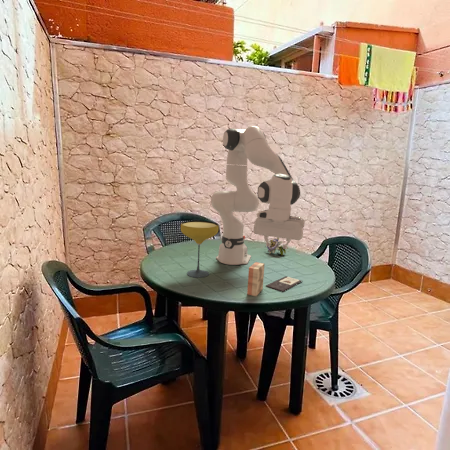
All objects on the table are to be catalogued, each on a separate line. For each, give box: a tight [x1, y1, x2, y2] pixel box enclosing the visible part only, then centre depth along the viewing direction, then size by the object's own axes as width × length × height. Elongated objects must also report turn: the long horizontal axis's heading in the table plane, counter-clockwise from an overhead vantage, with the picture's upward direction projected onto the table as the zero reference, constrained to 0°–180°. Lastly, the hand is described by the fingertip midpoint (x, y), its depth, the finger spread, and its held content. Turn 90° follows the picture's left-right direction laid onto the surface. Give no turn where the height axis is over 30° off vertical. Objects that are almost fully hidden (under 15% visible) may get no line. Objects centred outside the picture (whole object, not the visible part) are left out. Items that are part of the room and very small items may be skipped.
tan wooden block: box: [246, 261, 265, 297], centre depth 148 cm, size 9×4×12 cm, turn 156°
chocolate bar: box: [265, 275, 302, 293], centre depth 160 cm, size 9×1×18 cm
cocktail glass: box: [180, 219, 220, 279], centre depth 166 cm, size 18×18×25 cm
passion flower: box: [264, 237, 289, 256], centre depth 210 cm, size 11×11×12 cm
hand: (276, 247), depth 142 cm, fingers open, 6 cm apart
